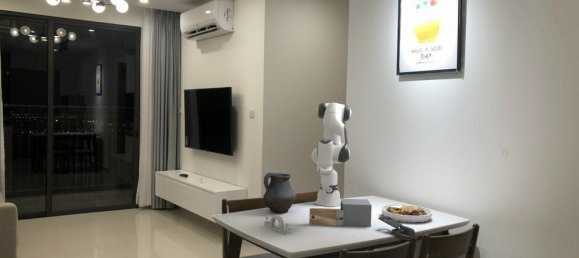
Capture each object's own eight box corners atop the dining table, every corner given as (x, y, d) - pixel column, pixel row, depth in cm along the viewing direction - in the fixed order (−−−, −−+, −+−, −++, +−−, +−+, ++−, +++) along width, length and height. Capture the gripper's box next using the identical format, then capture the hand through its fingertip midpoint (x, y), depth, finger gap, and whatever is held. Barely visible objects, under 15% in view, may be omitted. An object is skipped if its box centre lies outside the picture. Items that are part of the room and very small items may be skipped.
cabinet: (334, 218, 274) (334, 198, 274) (367, 219, 274) (367, 199, 273) (336, 225, 257) (336, 204, 256) (371, 227, 256) (372, 205, 255)
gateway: (264, 227, 253) (264, 212, 252) (267, 226, 254) (268, 212, 254) (286, 235, 237) (287, 220, 237) (290, 234, 239) (290, 219, 238)
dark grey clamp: (389, 215, 257) (420, 226, 235) (388, 227, 257) (420, 239, 235) (376, 217, 253) (407, 228, 231) (375, 228, 253) (406, 241, 231)
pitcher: (302, 213, 286) (303, 173, 284) (273, 217, 273) (274, 175, 271) (282, 206, 302) (283, 169, 301) (254, 210, 289) (255, 171, 288)
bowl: (373, 212, 293) (374, 200, 292) (417, 211, 299) (417, 199, 298) (393, 225, 263) (394, 211, 263) (441, 223, 270) (442, 210, 269)
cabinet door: (309, 223, 261) (309, 207, 260) (340, 224, 260) (340, 208, 260) (309, 225, 257) (309, 209, 257) (340, 226, 257) (341, 210, 256)
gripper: (318, 165, 268) (318, 189, 269) (319, 171, 248) (319, 196, 249) (329, 166, 268) (328, 189, 269) (331, 171, 248) (330, 196, 248)
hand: (324, 193), depth 258 cm, fingers open, 8 cm apart
